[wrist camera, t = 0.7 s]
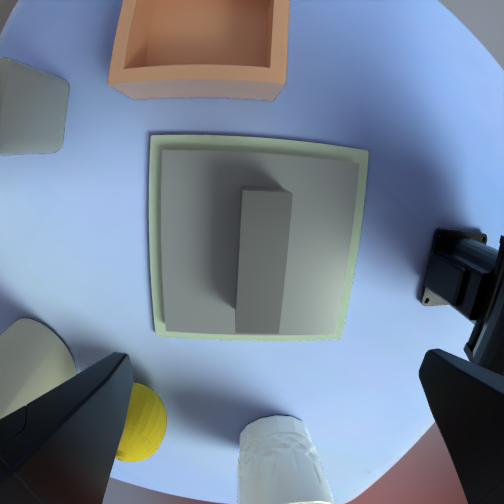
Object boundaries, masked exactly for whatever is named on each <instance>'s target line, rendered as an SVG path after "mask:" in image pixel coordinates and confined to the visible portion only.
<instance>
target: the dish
mask: <svg viewBox="0 0 504 504" xmlns="http://www.w3.org/2000/svg"><path fill="white" fill-rule="evenodd" d="M288 23H289V0H123V3H122V7H121V11H120V16H119V20H118V25H117V29H116V34H115V40H114V45H113V51H112V57H111V63H110V69H109V77H108V84H107V85H109V86H111V87H112V88H114V89H116V90H117V91H119V92H121V93H123V94H124V95H126V96H128V97H129V98H131V99H133V100H138V99H155V98H234V99H252V100H265V101H274V100H275V98H276V97H277V96H278V94H279V93H280V91H281V90H282V89H283V87H284V86H285V84H286V69H287V48H288Z"/></svg>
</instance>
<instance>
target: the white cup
mask: <svg viewBox="0 0 504 504" xmlns="http://www.w3.org/2000/svg"><path fill="white" fill-rule="evenodd" d="M237 504H335V501H334V498H333V496H332V493H331V490H330V487H329V484H328V481H327V478H326V475H325V472H324V470H323V467H322V464H321V461H320V459H319V456H318V454H317V451H316V448H315V446H314V444H313V443H312V440H311V437H310V434H309V431H308V429H307V427H306V426H305V424H304V422H303V421H301V420H298V419H296V418H294V417H292V416H279V415H275V416H270V417H265V418H260V419H258V420H256V421H254V422H252V423H250V424H248V425H247V426H246V427H245V428H244V429H243V431H242V432H241V433H240V451H239V458H238V469H237Z"/></svg>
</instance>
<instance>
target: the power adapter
mask: <svg viewBox="0 0 504 504" xmlns="http://www.w3.org/2000/svg"><path fill="white" fill-rule="evenodd" d="M69 90H70V85H69V82H68V81H66V80H64V79H61V78H59V77H56V76H54V75H51V74H49V73H47V72H44V71H42V70H39V69H36V68H34V67H31V66H29V65H26V64H23V63H21V62H18V61H15V60H13V59H10V58H7V57H3V58H1V59H0V156H4V155H22V154H43V153H55V152H57V151H59V150H60V149H61V147H62V145H63V140H64V129H65V119H66V111H67V103H68V96H69Z"/></svg>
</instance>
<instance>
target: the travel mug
mask: <svg viewBox="0 0 504 504" xmlns="http://www.w3.org/2000/svg"><path fill="white" fill-rule="evenodd" d="M75 375H76V366H75V363H74V360H73V358H72V355H71V354H70V352H69V350H68V349H67V347H66V346H65V344H64V343H63V342H62V341H61V339H60V338H59V337H58V336H57V335H56V334H55V333H54V332H53V331H51V330H50V329H49V328H48V327H46V326H45V325H43V324H41V323H39V322H37V321H35V320H32V319H26V318H23V319H19V320H17V321H15V322H14V323H13V324H12V325H11V326H10V327H8V328H7V329H6V330H5V331H4V332H3V333H2V334H1V335H0V419H1V418H3V417H5V416H6V415H8V414H10V413H12V412H14V411H16V410H17V409H19V408H21V407H22V406H24V405H25V406H26V405H27V404H28V403H29V402H31V401H33V400H35V399H36V398H38V397H40V396H41V395H43V394H45V393H46V392H48V391H50V390H52V389H53V388H55V387H57V386H58V385H60V384H62V383H63V382H65V381H67V380H68V379H70V378H72V377H73V376H75Z"/></svg>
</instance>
